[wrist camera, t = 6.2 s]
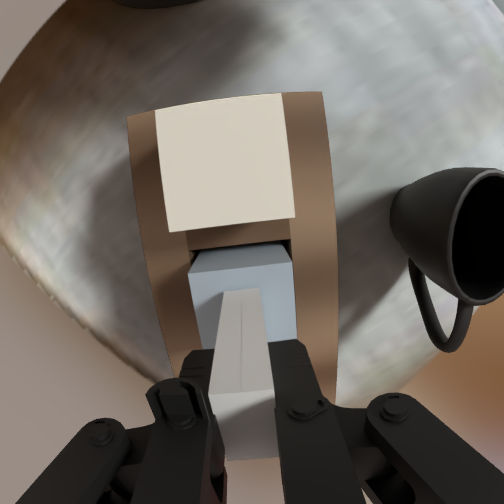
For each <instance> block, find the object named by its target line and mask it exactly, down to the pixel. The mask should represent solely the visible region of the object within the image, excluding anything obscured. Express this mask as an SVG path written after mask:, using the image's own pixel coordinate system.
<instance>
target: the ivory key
mask: <svg viewBox="0 0 504 504" xmlns="http://www.w3.org/2000/svg"><path fill="white" fill-rule="evenodd" d="M155 118H156V130H157V141H158V151H159V160H160V169H161V177H162V185H163V193H164V200H165V207H166V214H167V221H168V227H169V232H176V231H184V230H191V229H199V228H207V227H215V226H223V225H232V224H240V223H249V222H258V221H267V220H276V219H285V218H295V209H294V198H293V188H292V178H291V169H290V160H289V151H288V142H287V134H286V126H285V118H284V110H283V102H282V95H281V93H274V94H260V95H249V96H239V97H230V98H222V99H215V100H208V101H201V102H195V103H189V104H183V105H178V106H173V107H168V108H163V109H158V110H155Z"/></svg>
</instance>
